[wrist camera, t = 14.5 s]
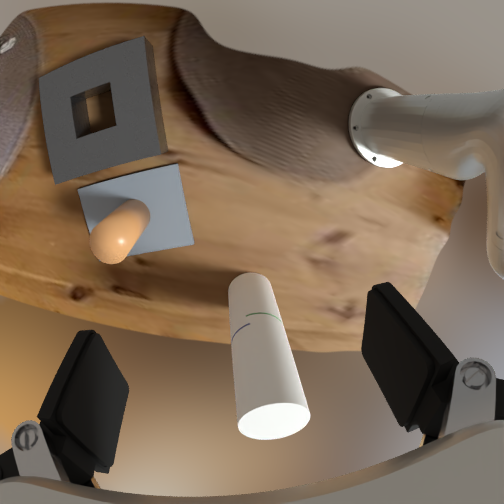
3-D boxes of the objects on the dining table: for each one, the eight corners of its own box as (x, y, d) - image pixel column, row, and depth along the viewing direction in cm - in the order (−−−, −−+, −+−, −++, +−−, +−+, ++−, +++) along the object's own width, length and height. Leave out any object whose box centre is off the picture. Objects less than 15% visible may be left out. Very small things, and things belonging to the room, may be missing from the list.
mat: (177, 163, 38) (177, 163, 37) (194, 242, 43) (193, 244, 42) (79, 188, 37) (77, 189, 37) (100, 259, 42) (99, 261, 42)
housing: (152, 45, 30) (144, 36, 26) (168, 151, 37) (161, 154, 33) (55, 81, 30) (38, 78, 25) (71, 177, 37) (55, 184, 32)
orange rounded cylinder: (145, 195, 39) (121, 217, 29) (154, 228, 41) (134, 259, 31) (114, 203, 39) (83, 227, 29) (123, 235, 41) (97, 267, 31)
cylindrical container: (219, 288, 47) (222, 422, 24) (255, 264, 46) (288, 393, 23) (244, 316, 49) (263, 445, 27) (279, 294, 48) (321, 420, 26)
